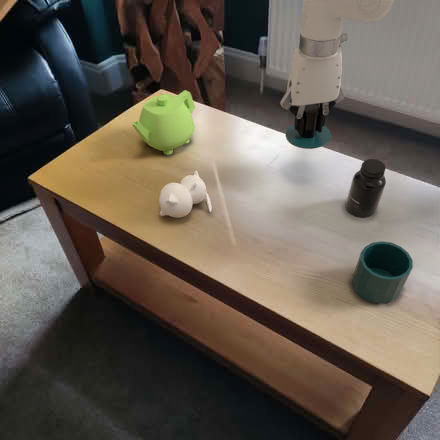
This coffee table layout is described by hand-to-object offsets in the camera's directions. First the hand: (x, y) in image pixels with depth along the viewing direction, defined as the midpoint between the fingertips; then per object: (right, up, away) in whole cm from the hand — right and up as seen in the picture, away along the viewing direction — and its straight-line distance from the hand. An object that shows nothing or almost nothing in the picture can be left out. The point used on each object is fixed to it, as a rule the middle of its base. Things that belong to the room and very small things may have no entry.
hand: (308, 129), depth 96 cm
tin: (+11, -35, -11) cm, 38 cm away
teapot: (-34, +4, +21) cm, 40 cm away
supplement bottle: (+12, -18, +2) cm, 21 cm away
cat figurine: (-27, -17, +4) cm, 33 cm away
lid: (0, -1, +1) cm, 1 cm away
